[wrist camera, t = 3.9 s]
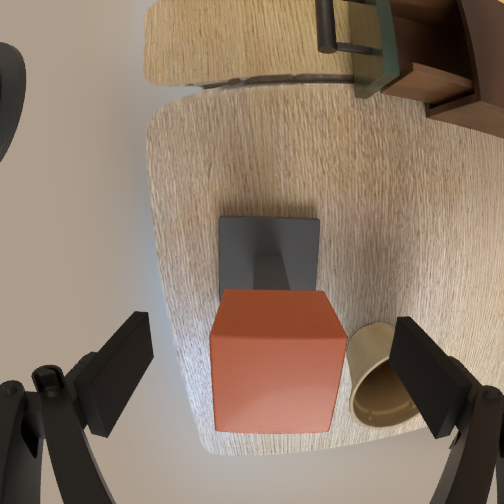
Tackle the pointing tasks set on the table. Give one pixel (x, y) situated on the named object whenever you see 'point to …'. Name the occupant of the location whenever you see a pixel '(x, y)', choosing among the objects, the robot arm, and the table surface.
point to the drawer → (402, 48)
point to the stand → (268, 253)
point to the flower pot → (376, 380)
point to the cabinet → (480, 71)
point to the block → (275, 361)
